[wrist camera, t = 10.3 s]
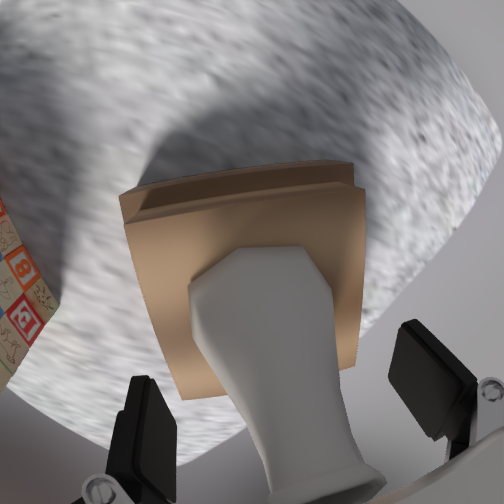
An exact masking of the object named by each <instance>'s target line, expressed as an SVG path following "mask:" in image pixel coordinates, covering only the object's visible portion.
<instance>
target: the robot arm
mask: <svg viewBox="0 0 504 504" xmlns="http://www.w3.org/2000/svg"><path fill="white" fill-rule="evenodd" d="M388 379H389V382H390V383H391V385H392V386H393V387H394V389H395V390H396V392H397V393H398V395H399V396H400V397H401V399H402V400H403V401H404V403H405V405H406V406H407V407H408V409H409V410H410V412H411V413H412V415H413V416H414V417H415V419H416V421H417V422H418V423H419V425H420V426H421V428H422V429H423V431H424V432H425V434H426V435H427V436H428V437H431V438H432V439H433V440H434V442H435V441H437V440H438V439H440V438H441V437H443V436H444V435H445V436H446V437H447V438H448V442H447V448H446V454H445V459H444V464H443V465H441V466H440V467H438V468H436V469H435V470H433V471H431V472H430V473H428V474H426V475H424V476H423V477H421V478H419V479H417V480H415V481H413V482H411V483H410V484H407V485H406V486H404V487H401V488H400V489H398V490H395V491H393V492H391V493H389V494H387V495H384V496H382V497H380V498H377V499H375V500H373V501H370V502H368V503H365V504H504V383H503V382H502V381H501V380H499V379H497V378H494V377H487V378H485V379H483V380H481V381H480V383H479V384H478V383H477V382H476V381H477V378H476V377H475V376H474V375H473V374H472V373H471V372H470V371H469V370H468V369H467V368H466V367H465V366H464V365H463V364H462V362H461V361H460V360H458V359H457V357H456V356H455V355H454V354H452V352H450V351H449V349H447V348H446V347H445V346H444V345H443V344H442V343H441V342H440V341H439V340H438V339H437V338H436V337H435V336H434V335H433V334H432V333H431V332H430V331H429V330H428V329H427V328H426V327H425V326H424V325H423V324H422V323H420V322H419V321H418V320H417V319H412V320H410V321H407V322H404V323H403V324H402V325H401V327H400V328H399V330H398V334H397V339H396V344H395V348H394V353H393V357H392V361H391V365H390V369H389V373H388ZM176 449H177V425H176V421H175V419H174V417H173V416H172V414H171V412H170V410H169V408H168V406H167V404H166V402H165V400H164V398H163V396H162V394H161V392H160V390H159V388H158V386H157V384H156V382H155V380H154V379H150V378H149V376H148V375H142V376H132V378H131V381H130V385H129V389H128V393H127V398H126V402H125V406H124V410H121V411H119V412H118V414H117V417H116V421H115V426H114V430H113V435H112V440H111V445H110V450H109V455H108V460H107V467H106V472H105V474H96V475H93V476H90V477H89V478H88V479H87V480H86V481H85V482H84V484H83V487H82V497H81V498H79V499H78V500H76V501H75V502H73V503H71V504H172V503H176Z"/></svg>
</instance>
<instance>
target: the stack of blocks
mask: <svg viewBox="0 0 504 504" xmlns="http://www.w3.org/2000/svg"><path fill="white" fill-rule="evenodd" d="M59 306H60V305H59V303H58V302H57V301H56V299H55V298H54V296H53V295H52V293H51V292H50V290H49V288H48V287H47V285H46V284H45V282H44V281H43V279H42V277H41V275H40V273H39V271H38V269H37V268H36V266H35V264H34V263H33V261H32V259H31V257H30V256H29V254H28V252H27V250H26V248H25V247H24V245H23V243H22V241H21V239H20V237H19V235H18V233H17V231H16V229H15V227H14V225H13V223H12V221H11V219H10V217H9V215H8V214H7V213H6V211H5V208H4V206H3V204H2V202H1V199H0V396H1V394H2V392H3V391H4V389H5V387H6V385H7V384H8V382H9V380H10V378H11V377H12V376H13V375H14V374H15V372H16V370H17V368H18V366H19V365H20V364H21V362H22V360H23V359H24V358H25V356H26V354H27V353H28V351H29V348H30V347H31V346H32V344H33V343H34V341H35V340H36V338H37V337H38V335H39V334H40V332H41V331H42V329H43V328H44V326H45V324H47V322H48V321H49V320H50V318H51V317H52V316H53V315H54V313H55V312H56V310H57V309H58V308H59Z"/></svg>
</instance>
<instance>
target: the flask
mask: <svg viewBox="0 0 504 504" xmlns="http://www.w3.org/2000/svg"><path fill="white" fill-rule="evenodd" d="M187 287H188V299H189V309H190V320H191V329H192V337H193V339H194V341H195V343H196V345H197V346H198V348H199V350H200V351H201V353H202V354H203V356H204V358H205V359H206V361H207V362H208V364H209V365H210V367H211V368H212V370H213V371H214V373H215V374H216V376H217V378H218V379H219V381H220V383H221V384H222V386H223V388H224V389H225V391H226V392H227V394H228V396H229V397H230V399H231V400H232V402H233V404H234V405H235V407H236V408H237V410H238V412H239V413H240V415H241V416H242V418H243V419H244V421H245V422H246V425H247V427H248V429H249V432H250V434H251V436H252V439H253V441H254V443H255V446H256V448H257V450H258V452H259V455H260V457H261V459H262V461H263V463H264V467H265V471H266V475H267V479H268V483H269V487H270V491H271V493H270V495H269V497H268V501H267V504H363V503H365V502H367V501H369V500H370V499H372V498H373V497H374V496H375V495H376V494H377V493H378V492H379V491H380V490H381V489H382V488H383V487H384V486H385V485H386V484H387V481H386V479H385V477H384V476H383V475H382V474H381V472H380V471H378V470H376V469H374V468H373V467H371V466H370V465H368V464H366V463H365V462H364V460H363V458H362V455H361V453H360V451H359V449H358V447H357V444H356V442H355V440H354V438H353V436H352V433H351V429H350V425H349V422H348V417H347V413H346V409H345V405H344V401H343V397H342V394H341V390H340V377H339V366H338V355H337V345H336V335H335V320H334V306H333V297H332V289H331V288H330V286H329V285H328V283H327V282H326V280H325V278H324V277H323V275H322V274H321V272H320V271H319V269H318V268H317V266H316V265H315V263H314V262H313V260H312V259H311V257H310V256H309V254H308V253H307V251H306V250H305V248H304V247H303V246H282V247H245V248H237V249H236V250H235V251H233V252H232V253H231V254H229V255H228V256H227V257H225V258H224V259H223V260H221V261H220V262H218V263H217V264H216V265H214V266H213V267H212V268H210V269H209V270H208V271H206V272H205V273H204V274H202V275H201V276H200V277H198V278H197V279H196V280H194V281H193V282H192V283H190V284H189V285H188V286H187Z"/></svg>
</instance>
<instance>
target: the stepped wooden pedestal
mask: <svg viewBox="0 0 504 504" xmlns="http://www.w3.org/2000/svg"><path fill="white" fill-rule="evenodd" d="M119 201H120V206H121V211H122V215H123V220H124V229H125V233H126V237H127V241H128V245H129V249H130V253H131V257H132V260H133V264H134V268H135V271H136V275H137V278H138V281H139V285H140V288H141V291H142V295H143V298H144V301H145V304H146V307H147V310H148V313H149V316H150V319H151V322H152V325H153V328H154V331H155V334H156V336H157V339H158V342H159V344H160V347H161V350H162V352H163V355H164V358H165V360H166V363H167V365H168V368H169V370H170V373H171V375H172V378H173V380H174V382H175V385H176V387H177V389H178V392H179V394H180V396H181V398H182V400H191V399H200V398H209V397H217V396H224V395H228V394H227V392H226V391H225V389H224V388H223V386H222V384H221V383H220V381H219V379H218V378H217V376H216V374H215V373H214V371H213V370H212V368H211V367H210V365H209V364H208V362H207V361H206V359H205V358H204V356H203V354H202V353H201V351H200V350H199V348H198V346H197V345H196V343H195V341H194V339H193V337H192V329H191V320H190V309H189V299H188V287H187V286H188V285H189V284H190V283H192V282H193V281H194V280H196V279H197V278H198V277H200V276H201V275H202V274H204V273H205V272H206V271H208V270H209V269H210V268H212V267H213V266H214V265H216V264H217V263H218V262H220V261H221V260H223V259H224V258H225V257H227V256H228V255H229V254H231V253H232V252H233V251H235V250H236V249H237V248H245V247H282V246H303V247H304V248H305V250H306V251H307V253H308V254H309V256H310V257H311V259H312V260H313V262H314V263H315V265H316V266H317V268H318V269H319V271H320V272H321V274H322V275H323V277H324V278H325V280H326V282H327V283H328V285H329V286H330V288H331V289H332V297H333V306H334V320H335V335H336V345H337V355H338V366H339V371H340V370H343V369H347V368H350V367H353V366H355V362H356V355H357V347H358V340H359V331H360V322H361V311H362V299H363V285H364V267H365V231H366V211H365V189H362V188H358V187H355V186H354V171H353V163H348V162H341V161H333V160H315V161H303V162H292V163H282V164H272V165H263V166H255V167H247V168H239V169H232V170H225V171H218V172H212V173H206V174H199V175H194V176H188V177H182V178H177V179H171V180H166V181H161V182H156V183H151V184H146V185H141V186H137V187H135V188H133V189H131V190H129V191H127V192H125V193H123V194H121V195H120V196H119Z"/></svg>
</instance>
